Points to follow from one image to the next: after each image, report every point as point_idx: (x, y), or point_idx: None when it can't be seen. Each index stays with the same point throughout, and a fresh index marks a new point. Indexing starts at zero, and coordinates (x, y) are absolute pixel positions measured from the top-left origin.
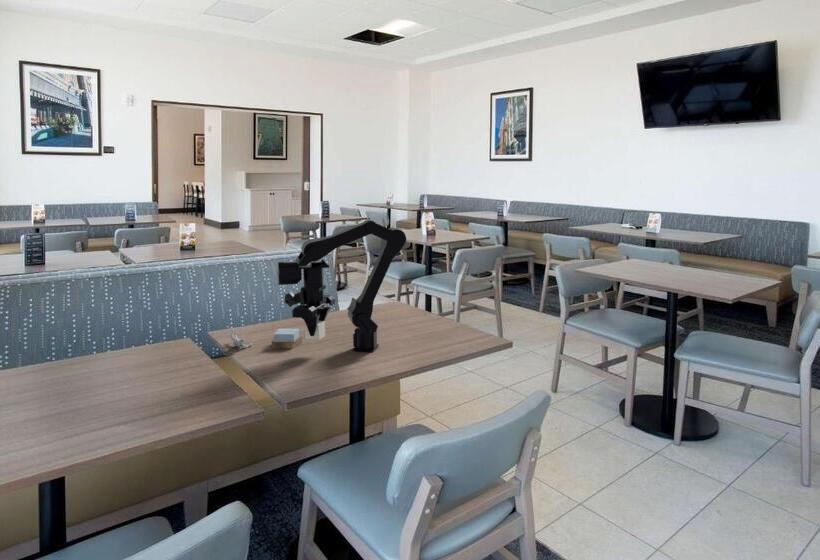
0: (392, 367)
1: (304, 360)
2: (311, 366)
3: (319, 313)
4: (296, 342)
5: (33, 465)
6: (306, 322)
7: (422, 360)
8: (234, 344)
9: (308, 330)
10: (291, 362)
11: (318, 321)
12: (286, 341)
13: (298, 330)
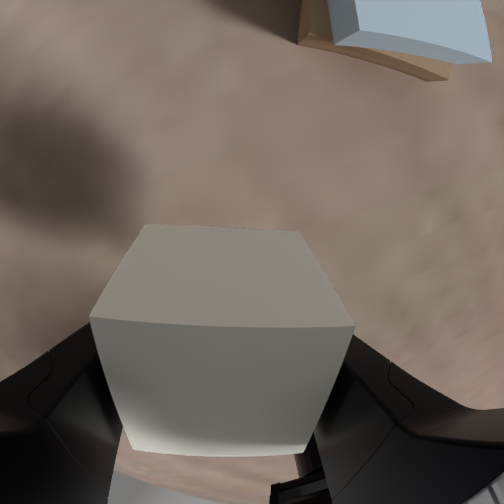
0: (151, 469)
1: (88, 211)
2: (35, 279)
3: (368, 491)
4: (372, 55)
5: None
6: (14, 393)
7: (223, 494)
8: None
9: (89, 323)
10: (45, 154)
11: (287, 421)
12: None
13: (475, 59)
